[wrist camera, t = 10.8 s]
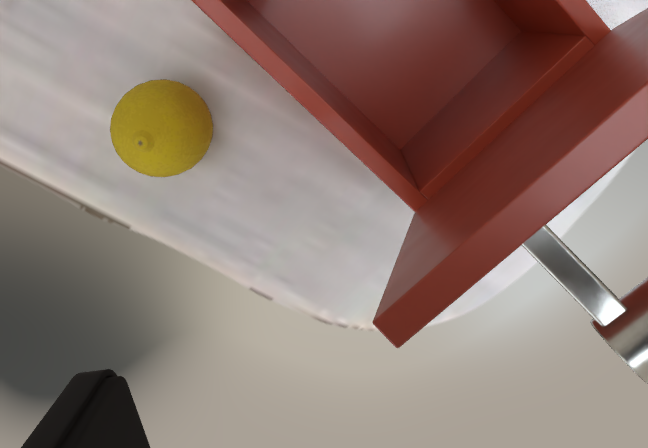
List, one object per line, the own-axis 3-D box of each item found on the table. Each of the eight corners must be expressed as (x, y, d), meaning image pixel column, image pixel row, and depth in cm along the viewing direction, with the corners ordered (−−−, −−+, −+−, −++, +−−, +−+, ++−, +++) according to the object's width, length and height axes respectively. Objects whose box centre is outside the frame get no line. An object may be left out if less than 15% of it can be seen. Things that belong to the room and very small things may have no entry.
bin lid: (371, 323, 12) (555, 514, 11) (915, -154, 8) (1187, 105, 8) (414, 213, 26) (493, 295, 26) (613, 28, 23) (706, 120, 23)
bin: (230, 2, 33) (187, -4, 24) (366, -166, 29) (378, -251, 20) (398, 165, 36) (418, 215, 27) (537, 30, 33) (615, 34, 24)
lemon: (143, 66, 34) (88, 79, 27) (228, 82, 34) (198, 100, 27) (138, 149, 36) (86, 183, 29) (219, 164, 36) (188, 202, 29)
